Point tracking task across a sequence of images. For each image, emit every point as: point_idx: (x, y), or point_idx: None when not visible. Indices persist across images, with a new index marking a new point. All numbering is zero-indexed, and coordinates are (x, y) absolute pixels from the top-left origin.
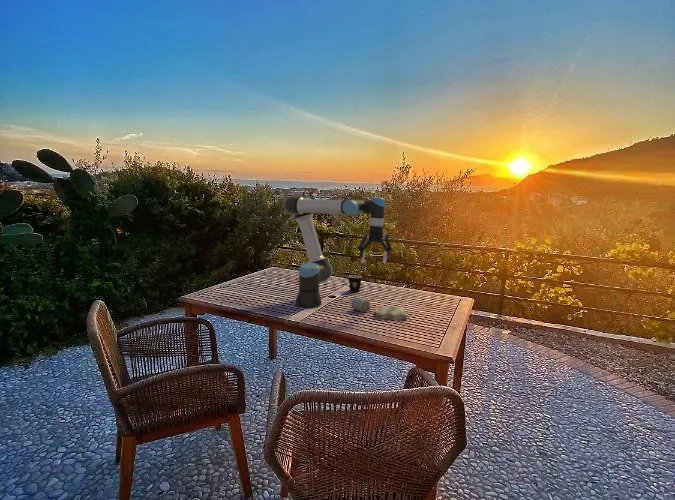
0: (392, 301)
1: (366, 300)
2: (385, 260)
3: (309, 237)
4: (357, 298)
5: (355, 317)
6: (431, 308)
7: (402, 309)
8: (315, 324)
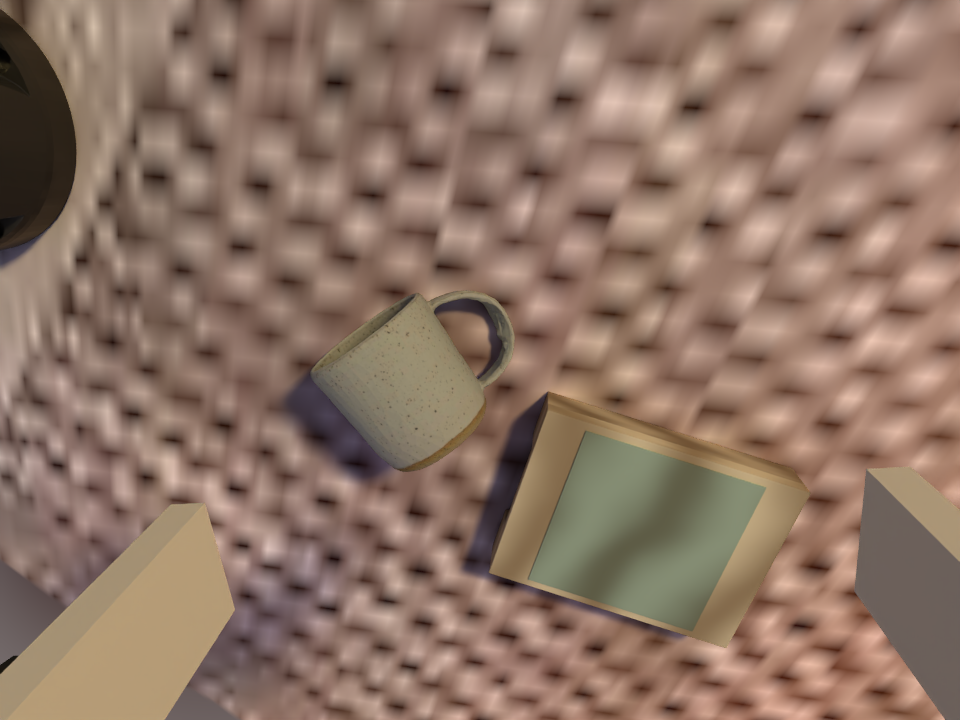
0: (874, 81)
1: (433, 456)
2: (907, 653)
3: None
4: (350, 402)
5: (341, 506)
6: None
7: (761, 528)
8: (65, 585)
